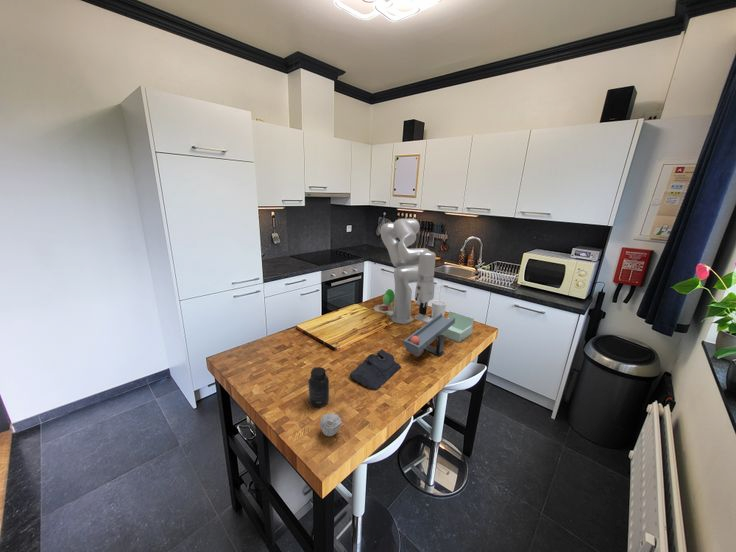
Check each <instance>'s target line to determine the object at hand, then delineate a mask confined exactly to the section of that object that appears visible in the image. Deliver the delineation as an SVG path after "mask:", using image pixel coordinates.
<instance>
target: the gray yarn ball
mask: <svg viewBox="0 0 736 552" xmlns="http://www.w3.org/2000/svg"><path fill="white" fill-rule="evenodd" d="M341 425H342V419H341V418H340V416H339V414H338V413H337V414H335V413H326V414H324V415H322V417H321V418H320V422H319V427H320V429H321V431H322V433H323V434H324V435H325V436H327V437H333V436H335V434H337V433H338V430H339V429H340V427H341Z"/></svg>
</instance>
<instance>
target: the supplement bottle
mask: <svg viewBox="0 0 736 552" xmlns="http://www.w3.org/2000/svg"><path fill="white" fill-rule="evenodd" d="M326 373H327V372H326V369H325V368H324V367H322V366H321V367H320V366H317V367H314V368H312V369H311V370H310V377H309V378H308V383H307V385H308V386H307V387H308V402H309V405H310V406H312V407H313V408H322V407H325V406H326V405H327V404H329V401H330V384H329V383H330V381H329V377H328V376H327V375H326Z"/></svg>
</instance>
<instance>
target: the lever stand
mask: <svg viewBox="0 0 736 552" xmlns="http://www.w3.org/2000/svg"><path fill="white" fill-rule="evenodd" d="M421 327H422V326H420V327H418V328H417V330H419V329H420V328H421ZM436 339H437V341H436V347H435V346H434V345H430V344H429V345H428V346H427V347H426V348H424V349H423V352H426V353H428V354H431V355H432V356H435V357H438V358H439V357H441V356H443V355H444V354H445V351H444V343H445V337H444V335H440V336H438V338H436Z"/></svg>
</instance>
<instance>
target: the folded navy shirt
mask: <svg viewBox="0 0 736 552" xmlns="http://www.w3.org/2000/svg"><path fill="white" fill-rule="evenodd" d="M401 368H402V366H401V364H400V363H398V362H396V361H395V356H394V355H392V354H391V353H389V352H386V351H385V349H380V350H379V351H377V353H376V354H374V353H370V355H368V356H367V357H366V358H365V359H364V360H363V361H362V362H361V363H360V364H358V365H357V367H356V368H355V369H353V370H352V371H351V372H350V373H349V378H350V379H353V380H354V381H356V382H358V383H359V384H361V385H362V386H364V387H366V388H367V389H369V390H372V391H378V390H379V389H381V387H382V386H383V385H384V384H386V383H387V382H388V381H390V380H391V378H392V377H394V376H395V374H396V373H397V372H398V371H400V369H401Z"/></svg>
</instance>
